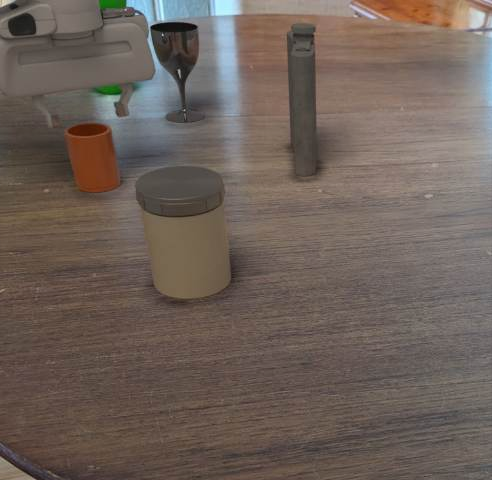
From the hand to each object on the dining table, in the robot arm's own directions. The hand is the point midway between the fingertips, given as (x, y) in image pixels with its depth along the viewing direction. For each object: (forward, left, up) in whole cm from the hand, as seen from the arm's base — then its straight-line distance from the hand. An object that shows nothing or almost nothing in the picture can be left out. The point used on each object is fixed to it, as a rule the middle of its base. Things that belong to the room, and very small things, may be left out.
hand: (89, 121), depth 101 cm
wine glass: (+22, +24, -9) cm, 34 cm away
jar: (+2, -33, -9) cm, 34 cm away
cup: (0, 0, -9) cm, 9 cm away
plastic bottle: (+15, +45, -9) cm, 48 cm away
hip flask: (+32, -4, -9) cm, 33 cm away
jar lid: (+2, -33, +2) cm, 33 cm away
